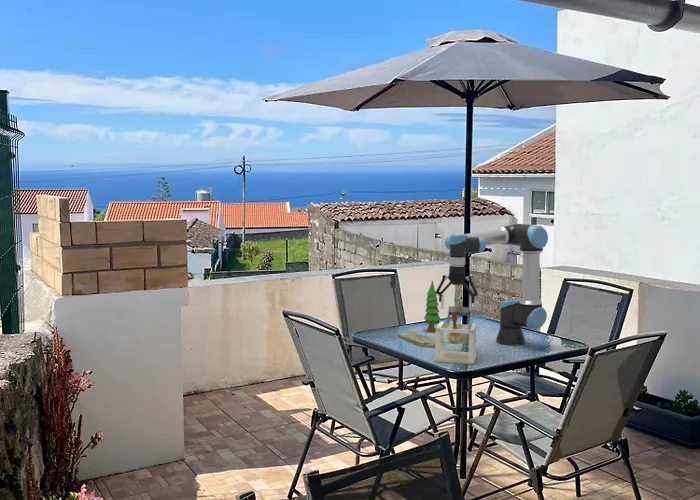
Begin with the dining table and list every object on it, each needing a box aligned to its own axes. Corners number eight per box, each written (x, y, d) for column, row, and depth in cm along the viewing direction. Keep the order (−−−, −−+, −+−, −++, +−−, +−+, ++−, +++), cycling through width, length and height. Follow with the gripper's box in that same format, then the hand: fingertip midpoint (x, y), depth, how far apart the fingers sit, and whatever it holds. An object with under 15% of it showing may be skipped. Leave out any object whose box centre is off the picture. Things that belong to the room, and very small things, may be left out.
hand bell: (451, 344, 331) (450, 320, 321) (444, 333, 337) (442, 309, 328) (467, 339, 332) (466, 315, 323) (459, 328, 339) (458, 304, 329)
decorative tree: (434, 329, 406) (435, 278, 403) (443, 332, 397) (444, 280, 395) (420, 330, 401) (421, 279, 398) (429, 333, 393) (430, 281, 390)
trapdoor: (472, 310, 350) (472, 307, 349) (468, 345, 331) (468, 342, 330) (447, 309, 353) (447, 306, 352) (441, 344, 334) (441, 340, 333)
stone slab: (426, 343, 356) (396, 330, 383) (426, 351, 357) (395, 338, 383) (445, 341, 362) (414, 328, 388) (445, 348, 363) (414, 335, 389)
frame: (476, 354, 344) (477, 323, 343) (473, 364, 326) (474, 331, 324) (438, 352, 349) (439, 321, 347) (433, 361, 331) (434, 328, 329)
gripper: (484, 265, 331) (482, 309, 333) (432, 263, 338) (431, 306, 339) (483, 267, 324) (481, 311, 326) (430, 265, 330) (429, 309, 332)
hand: (456, 309), depth 333 cm, fingers open, 13 cm apart
